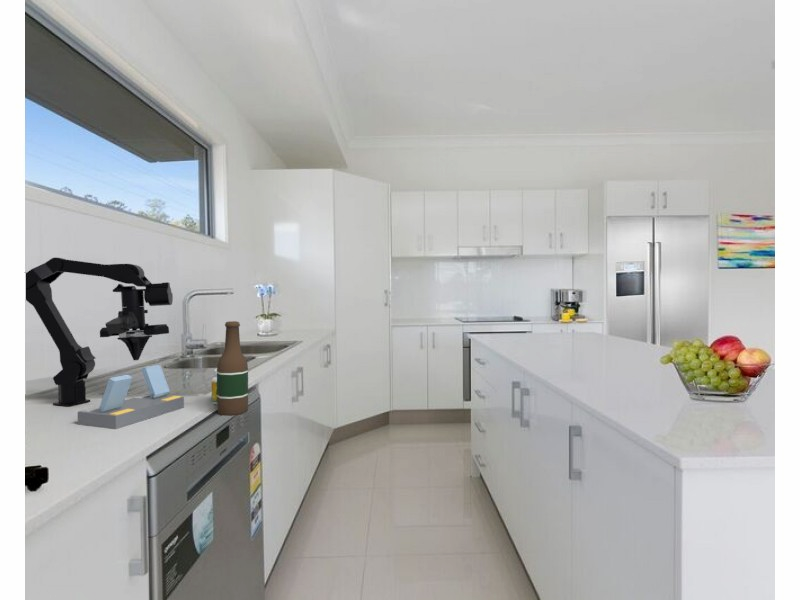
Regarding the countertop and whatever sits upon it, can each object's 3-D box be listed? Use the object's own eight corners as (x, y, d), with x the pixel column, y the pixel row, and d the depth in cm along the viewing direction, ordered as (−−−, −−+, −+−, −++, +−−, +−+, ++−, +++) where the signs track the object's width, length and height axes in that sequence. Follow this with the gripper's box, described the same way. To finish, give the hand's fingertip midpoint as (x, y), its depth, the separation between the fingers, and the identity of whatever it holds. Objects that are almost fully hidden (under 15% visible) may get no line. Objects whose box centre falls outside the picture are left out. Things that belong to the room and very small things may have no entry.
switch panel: (77, 424, 111) (77, 411, 111) (149, 404, 131) (149, 393, 131) (115, 428, 107) (115, 415, 107) (183, 407, 127) (183, 396, 127)
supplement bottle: (229, 399, 137) (229, 367, 137) (233, 403, 132) (233, 369, 132) (209, 402, 134) (209, 369, 134) (213, 405, 129) (213, 371, 129)
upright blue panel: (98, 410, 110) (109, 378, 108) (117, 405, 114) (128, 374, 113) (102, 413, 109) (114, 381, 108) (121, 408, 114) (132, 377, 113)
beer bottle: (230, 417, 117) (229, 322, 117) (210, 413, 121) (210, 321, 121) (254, 411, 124) (254, 321, 123) (235, 407, 128) (235, 320, 128)
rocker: (151, 399, 124) (141, 369, 125) (166, 395, 129) (156, 366, 130) (156, 397, 123) (145, 367, 124) (170, 393, 128) (160, 364, 129)
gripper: (82, 309, 129) (85, 365, 129) (141, 306, 126) (144, 363, 126) (113, 308, 140) (116, 359, 140) (168, 305, 137) (171, 357, 137)
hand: (136, 360), depth 136 cm, fingers closed
